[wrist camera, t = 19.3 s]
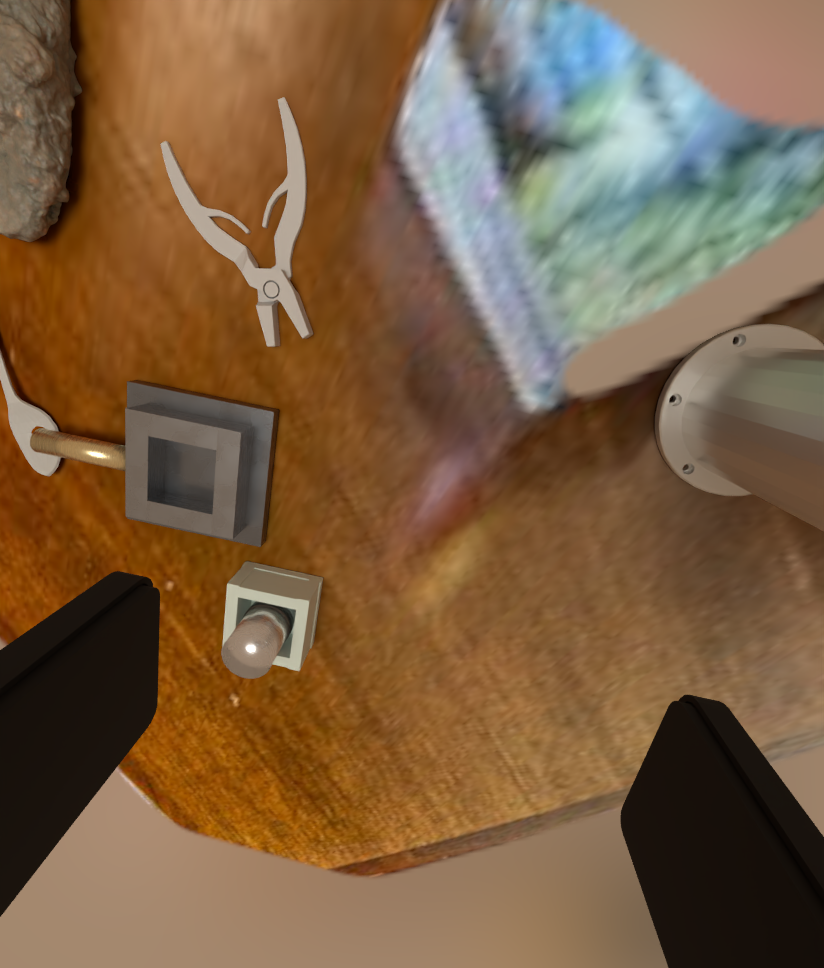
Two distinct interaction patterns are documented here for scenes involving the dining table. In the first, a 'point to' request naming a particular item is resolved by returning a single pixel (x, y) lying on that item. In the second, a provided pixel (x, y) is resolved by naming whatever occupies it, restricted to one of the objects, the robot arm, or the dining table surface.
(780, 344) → the robot arm
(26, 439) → the spoon
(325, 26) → the dining table surface
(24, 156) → the elongated rock
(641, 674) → the dining table surface
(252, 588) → the pale square socket block
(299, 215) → the pliers
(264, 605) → the beige round-topped cylinder
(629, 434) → the dining table surface
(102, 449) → the grey square pan
